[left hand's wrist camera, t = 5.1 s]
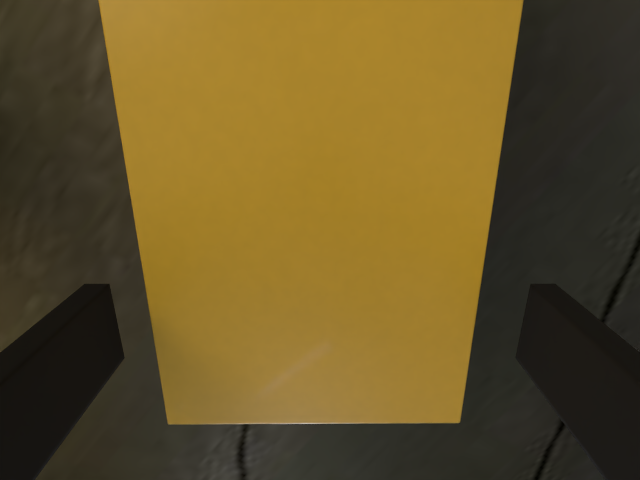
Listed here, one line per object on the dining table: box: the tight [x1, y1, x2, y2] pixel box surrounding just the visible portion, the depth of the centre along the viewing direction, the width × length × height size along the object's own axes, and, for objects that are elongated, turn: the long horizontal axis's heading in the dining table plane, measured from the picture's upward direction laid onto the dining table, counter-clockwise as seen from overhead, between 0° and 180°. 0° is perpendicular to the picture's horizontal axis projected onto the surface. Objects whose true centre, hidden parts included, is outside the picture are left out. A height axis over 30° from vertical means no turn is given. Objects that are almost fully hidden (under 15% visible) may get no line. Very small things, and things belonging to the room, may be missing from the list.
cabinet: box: [99, 0, 523, 424], centre depth 16 cm, size 20×10×10 cm, turn 0°
